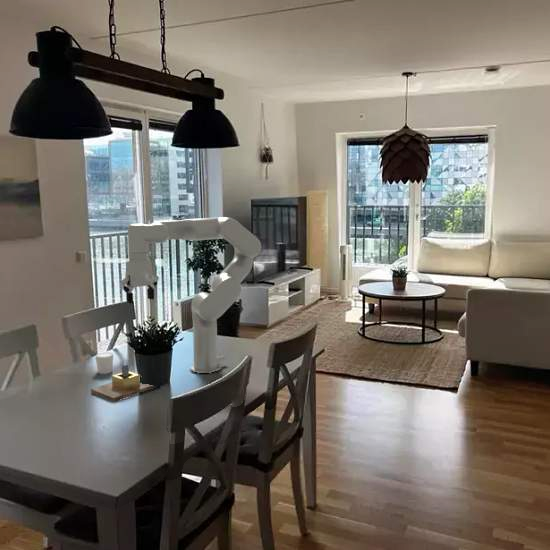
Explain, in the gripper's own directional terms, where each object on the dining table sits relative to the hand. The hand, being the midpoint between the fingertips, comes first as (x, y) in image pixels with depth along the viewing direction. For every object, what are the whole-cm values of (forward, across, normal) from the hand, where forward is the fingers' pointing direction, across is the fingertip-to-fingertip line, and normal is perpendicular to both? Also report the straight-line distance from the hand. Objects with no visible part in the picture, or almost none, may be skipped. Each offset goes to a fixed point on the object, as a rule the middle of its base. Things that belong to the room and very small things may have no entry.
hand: (140, 300), depth 217 cm
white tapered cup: (+31, +6, -17) cm, 35 cm away
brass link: (+29, +13, +7) cm, 32 cm away
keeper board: (+30, +13, +7) cm, 34 cm away
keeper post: (+29, +13, +7) cm, 32 cm away
